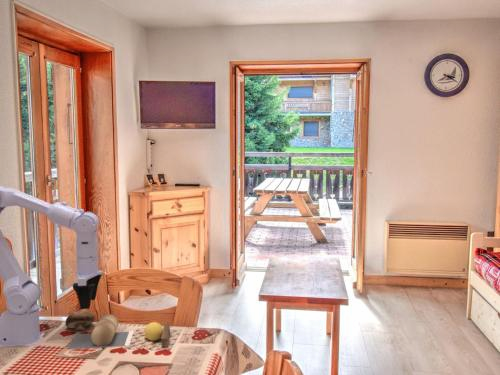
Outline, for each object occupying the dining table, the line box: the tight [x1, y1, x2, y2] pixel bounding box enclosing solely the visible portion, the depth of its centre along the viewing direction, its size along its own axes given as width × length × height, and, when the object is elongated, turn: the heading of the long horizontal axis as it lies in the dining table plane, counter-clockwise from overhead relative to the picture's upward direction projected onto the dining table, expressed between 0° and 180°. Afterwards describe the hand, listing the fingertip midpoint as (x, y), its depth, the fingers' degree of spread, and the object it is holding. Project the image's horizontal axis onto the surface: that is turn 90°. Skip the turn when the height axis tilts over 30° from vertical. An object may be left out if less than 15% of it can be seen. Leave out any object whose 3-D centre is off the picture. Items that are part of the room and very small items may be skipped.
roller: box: [91, 313, 119, 346], centre depth 125 cm, size 6×9×6 cm, turn 8°
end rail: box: [161, 322, 171, 349], centre depth 128 cm, size 2×12×2 cm, turn 8°
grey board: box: [66, 330, 134, 350], centre depth 125 cm, size 16×10×1 cm, turn 98°
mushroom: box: [65, 310, 96, 332], centre depth 134 cm, size 8×8×6 cm
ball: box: [144, 321, 163, 342], centre depth 126 cm, size 5×5×5 cm
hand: (88, 304), depth 127 cm, fingers open, 7 cm apart
